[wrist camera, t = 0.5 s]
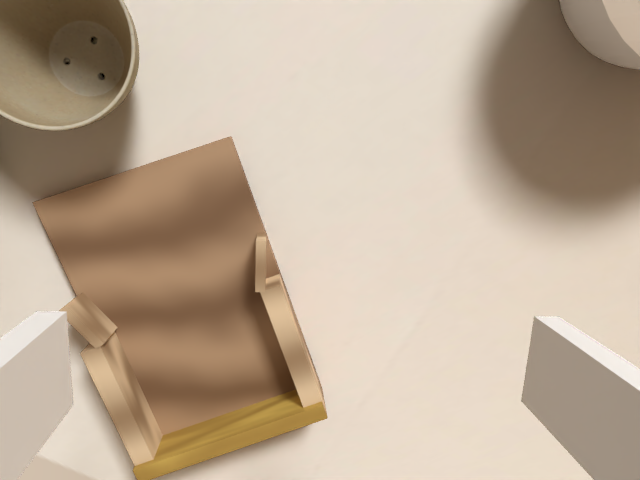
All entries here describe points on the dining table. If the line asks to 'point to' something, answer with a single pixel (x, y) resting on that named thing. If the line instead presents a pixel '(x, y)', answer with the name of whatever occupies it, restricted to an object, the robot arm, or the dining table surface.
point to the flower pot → (65, 61)
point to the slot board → (183, 309)
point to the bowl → (606, 29)
